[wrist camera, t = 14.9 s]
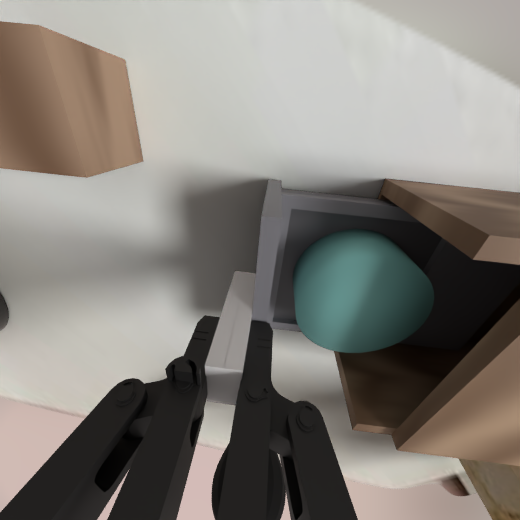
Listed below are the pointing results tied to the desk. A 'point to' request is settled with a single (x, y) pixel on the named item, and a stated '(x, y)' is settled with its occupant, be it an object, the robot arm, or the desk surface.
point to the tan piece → (496, 487)
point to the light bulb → (273, 487)
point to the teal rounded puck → (359, 292)
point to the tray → (397, 229)
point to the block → (63, 105)
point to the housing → (444, 360)
